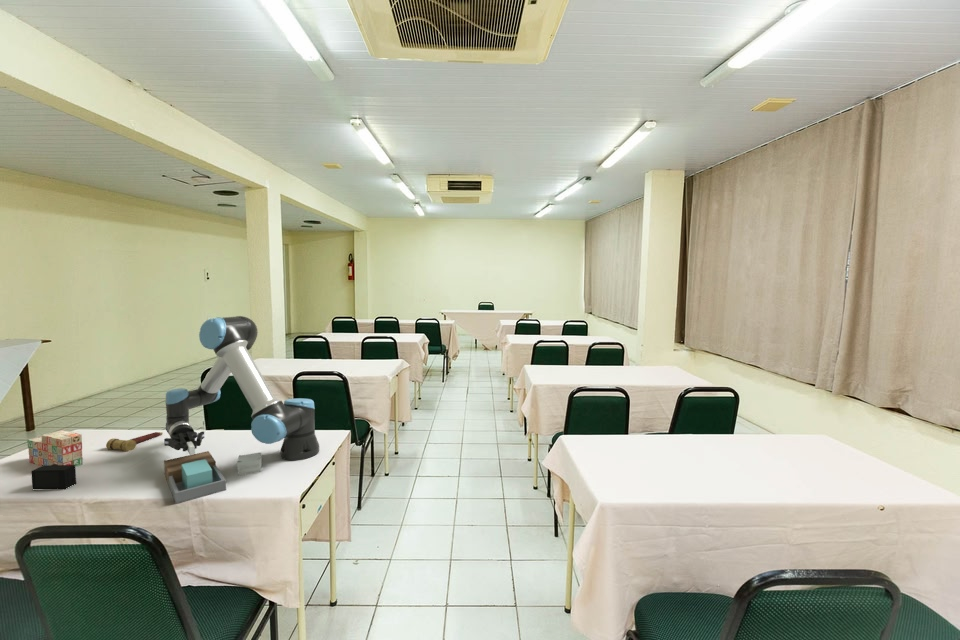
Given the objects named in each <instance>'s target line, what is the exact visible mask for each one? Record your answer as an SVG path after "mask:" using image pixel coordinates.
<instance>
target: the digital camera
mask: <svg viewBox="0 0 960 640" xmlns="http://www.w3.org/2000/svg"><path fill="white" fill-rule="evenodd" d="M30 473H31V474H30V475H31V487H32V490H33V489H64V490H67V489H69V488H71V487H73V486H75V485H76V484H77V475H76V467H75V465H57V464H53V465H47V466H42V465H40V467H37V468H35V469H32V470H31V471H30ZM74 484H75V485H74ZM72 485H73V486H72ZM70 486H71V487H70ZM68 487H69V488H68ZM66 488H67V489H66Z"/></svg>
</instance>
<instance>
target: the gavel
mask: <svg viewBox="0 0 960 640" xmlns="http://www.w3.org/2000/svg"><path fill="white" fill-rule="evenodd" d="M162 435H163V432H157V431H156V432H151V433H147V434H144V435H140V436H138V437H134V438H130V439H119V438H111V439H108V441H107V442H106V445H105V446H106V449H107V450H111V451H112V450H117V451H118V450H119V451H124V452H130V451H132V450H134V449H135V448H136V446H137V444H139V443H144V442H146V440H147V441H150V440H153V439H155V438H158V437H160V436H162ZM152 438H153V439H152ZM149 439H150V440H149Z"/></svg>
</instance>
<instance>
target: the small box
mask: <svg viewBox="0 0 960 640" xmlns="http://www.w3.org/2000/svg"><path fill="white" fill-rule="evenodd" d="M262 465H263V464H262V452H256V453H255V452H254V453H250V454H249V453H248V454H241V455H238V459H237V464H236V466H237V476H245V475H250V474H256V473H261V472H262Z"/></svg>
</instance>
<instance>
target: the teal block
mask: <svg viewBox="0 0 960 640" xmlns="http://www.w3.org/2000/svg"><path fill="white" fill-rule="evenodd" d="M212 482H213V480H212V469H211V467H210V466H209V464H208V463H207V461H206V459H203V460H199V461H194V462H190V463H185V464H182V484H183V487H184V489H185V490H186V489H189V488H193V487H197V486H201V485H205V484H209V483H212Z"/></svg>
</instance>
